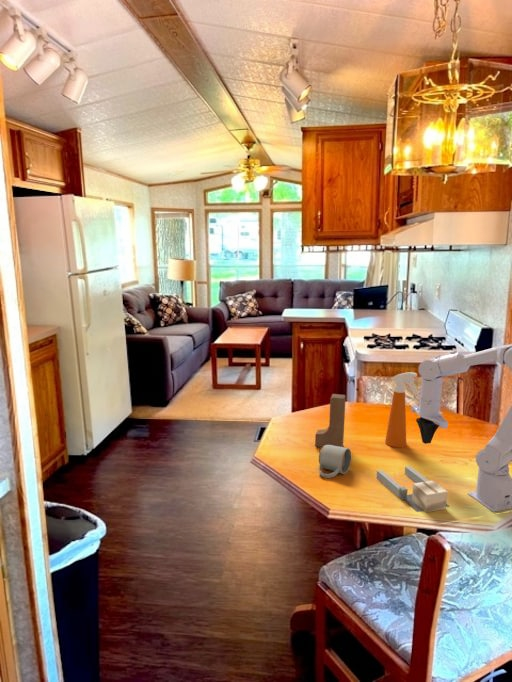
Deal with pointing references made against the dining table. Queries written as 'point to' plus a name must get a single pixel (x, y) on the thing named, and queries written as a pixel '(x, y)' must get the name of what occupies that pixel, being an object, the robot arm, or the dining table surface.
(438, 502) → the block
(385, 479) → the chute
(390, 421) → the spray bottle
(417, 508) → the mat
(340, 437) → the wooden block
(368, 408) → the dining table surface
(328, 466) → the ceramic mug
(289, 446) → the dining table surface
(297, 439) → the dining table surface
